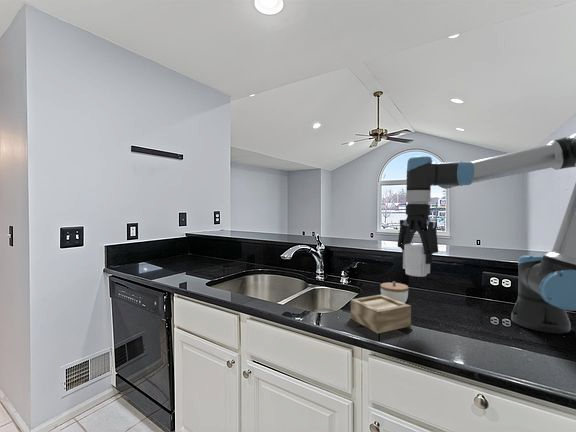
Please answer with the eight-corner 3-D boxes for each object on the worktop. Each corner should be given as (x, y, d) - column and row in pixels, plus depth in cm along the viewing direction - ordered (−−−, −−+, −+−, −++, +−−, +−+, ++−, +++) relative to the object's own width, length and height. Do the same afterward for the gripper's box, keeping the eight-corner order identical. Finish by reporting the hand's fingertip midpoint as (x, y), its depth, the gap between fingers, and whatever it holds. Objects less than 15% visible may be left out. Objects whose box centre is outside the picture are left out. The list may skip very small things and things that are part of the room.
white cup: (399, 271, 104) (400, 243, 104) (421, 271, 105) (421, 243, 105) (410, 277, 97) (411, 246, 96) (433, 277, 97) (434, 246, 97)
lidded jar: (407, 302, 124) (407, 279, 124) (409, 310, 114) (409, 286, 113) (380, 299, 127) (380, 277, 127) (379, 307, 117) (379, 283, 117)
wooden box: (410, 326, 99) (411, 305, 99) (377, 333, 93) (377, 311, 93) (381, 312, 111) (381, 294, 111) (350, 318, 106) (350, 299, 106)
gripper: (453, 203, 92) (450, 276, 93) (403, 203, 111) (401, 264, 112) (436, 203, 89) (433, 278, 90) (387, 203, 108) (386, 265, 109)
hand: (415, 270), depth 101 cm, fingers closed on white cup, 8 cm apart
